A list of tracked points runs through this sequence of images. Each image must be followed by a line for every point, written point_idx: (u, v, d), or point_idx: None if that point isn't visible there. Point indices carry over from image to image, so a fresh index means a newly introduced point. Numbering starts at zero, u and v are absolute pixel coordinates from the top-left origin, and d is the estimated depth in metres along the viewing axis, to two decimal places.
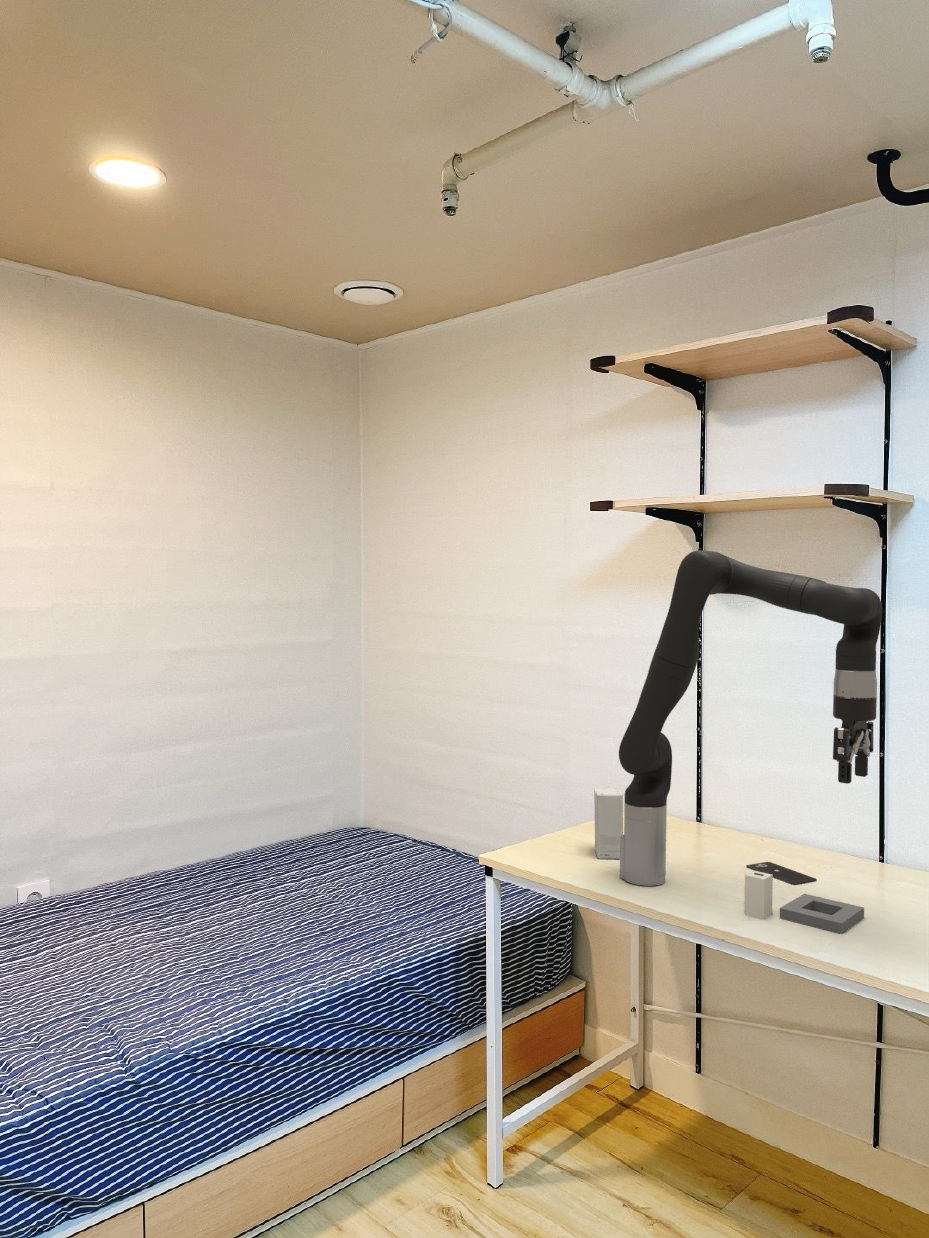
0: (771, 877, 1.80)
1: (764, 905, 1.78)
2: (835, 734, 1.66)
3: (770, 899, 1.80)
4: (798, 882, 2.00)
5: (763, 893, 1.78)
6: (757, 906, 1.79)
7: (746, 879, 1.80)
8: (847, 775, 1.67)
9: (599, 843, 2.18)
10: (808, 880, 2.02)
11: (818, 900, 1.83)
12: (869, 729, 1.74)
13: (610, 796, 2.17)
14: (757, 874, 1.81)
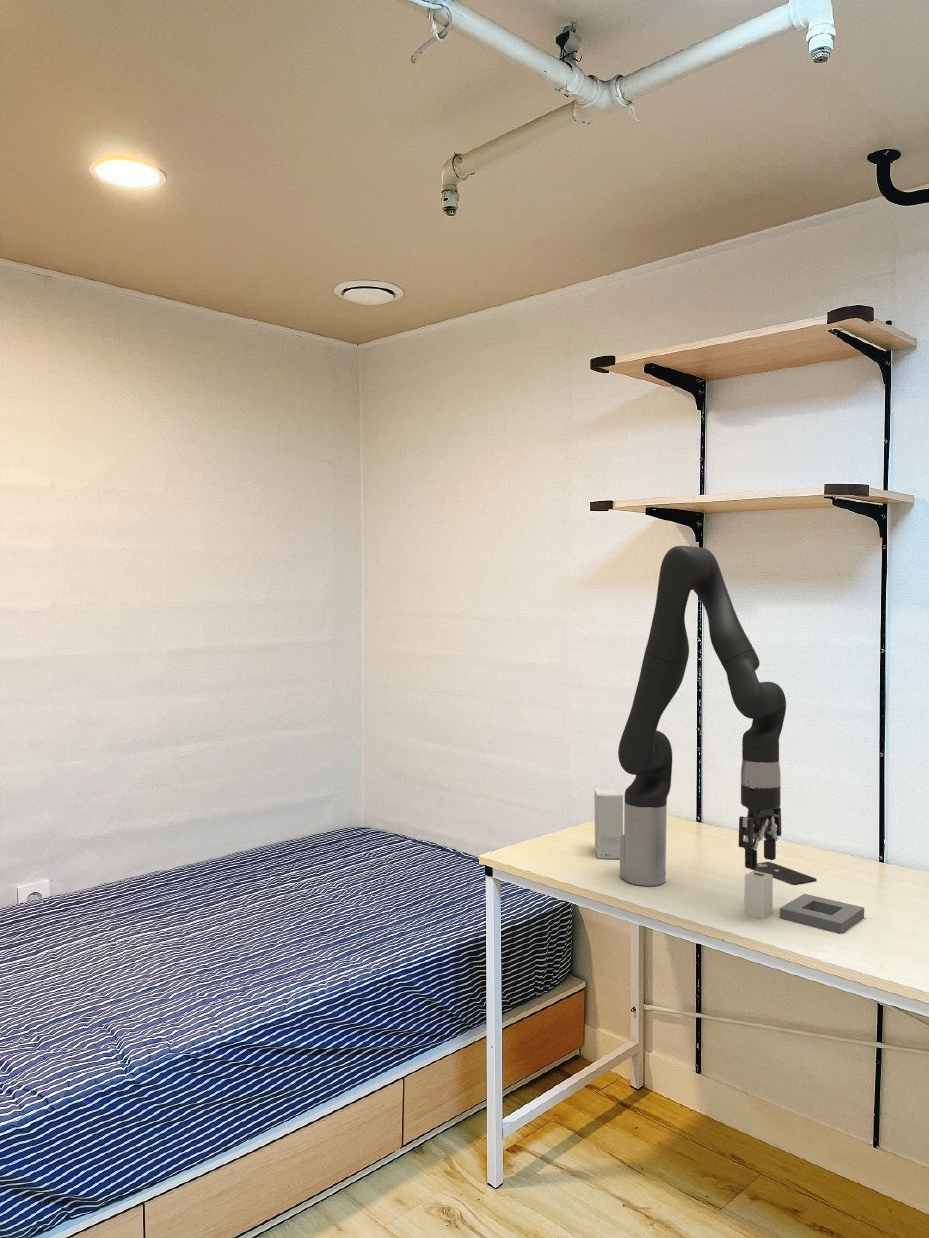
0: (771, 877, 1.80)
1: (764, 905, 1.78)
2: (740, 823, 1.76)
3: (770, 899, 1.80)
4: (798, 882, 2.00)
5: (763, 893, 1.78)
6: (757, 905, 1.79)
7: (746, 879, 1.80)
8: (753, 861, 1.76)
9: (599, 843, 2.18)
10: (808, 880, 2.02)
11: (818, 900, 1.83)
12: (776, 814, 1.84)
13: (610, 796, 2.17)
14: (757, 874, 1.81)
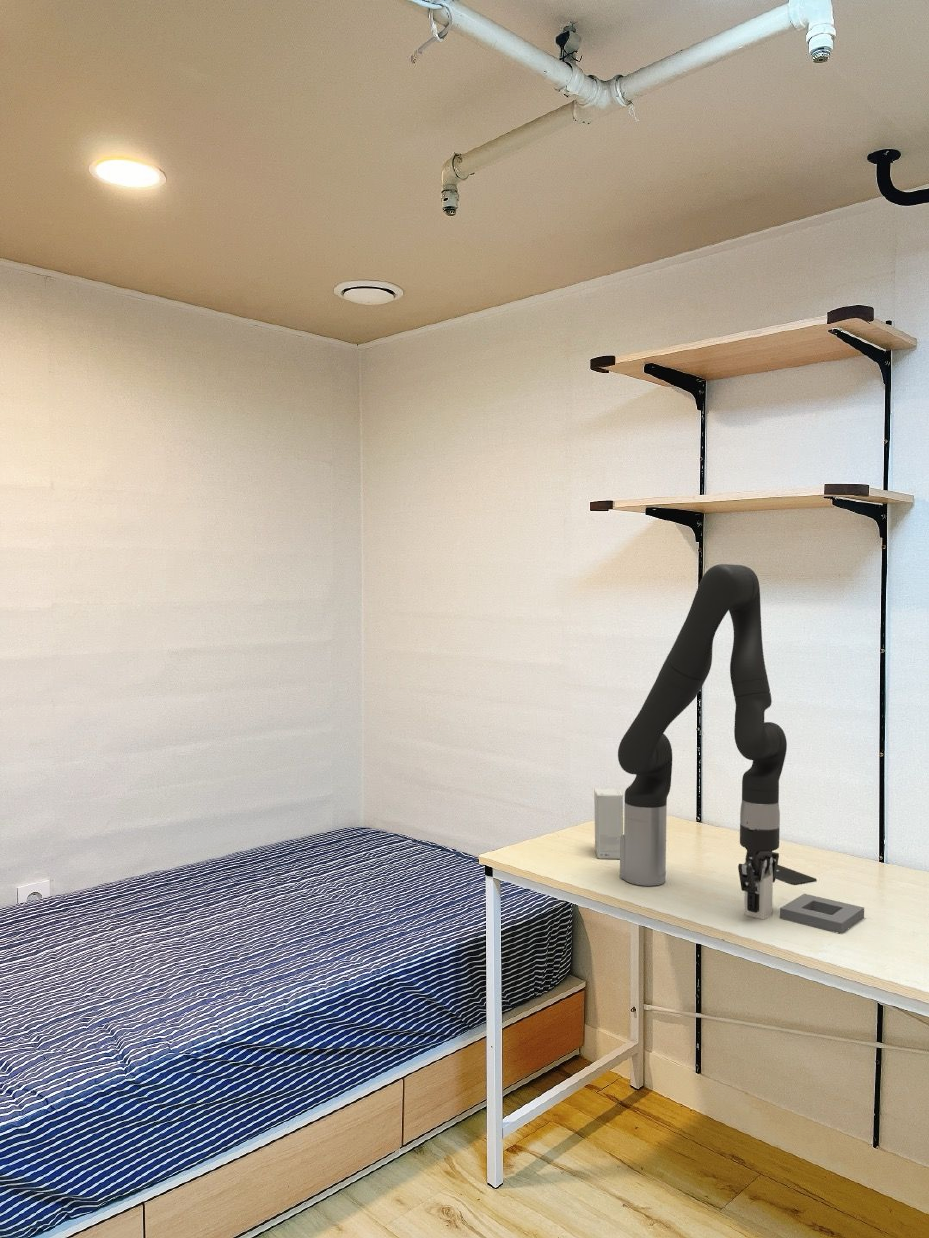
0: (771, 877, 1.80)
1: (764, 905, 1.78)
2: (740, 871, 1.77)
3: (770, 899, 1.80)
4: (798, 882, 2.00)
5: (763, 893, 1.78)
6: None
7: None
8: (755, 905, 1.78)
9: (599, 843, 2.18)
10: (808, 880, 2.02)
11: (818, 900, 1.83)
12: (774, 859, 1.84)
13: (610, 796, 2.17)
14: None
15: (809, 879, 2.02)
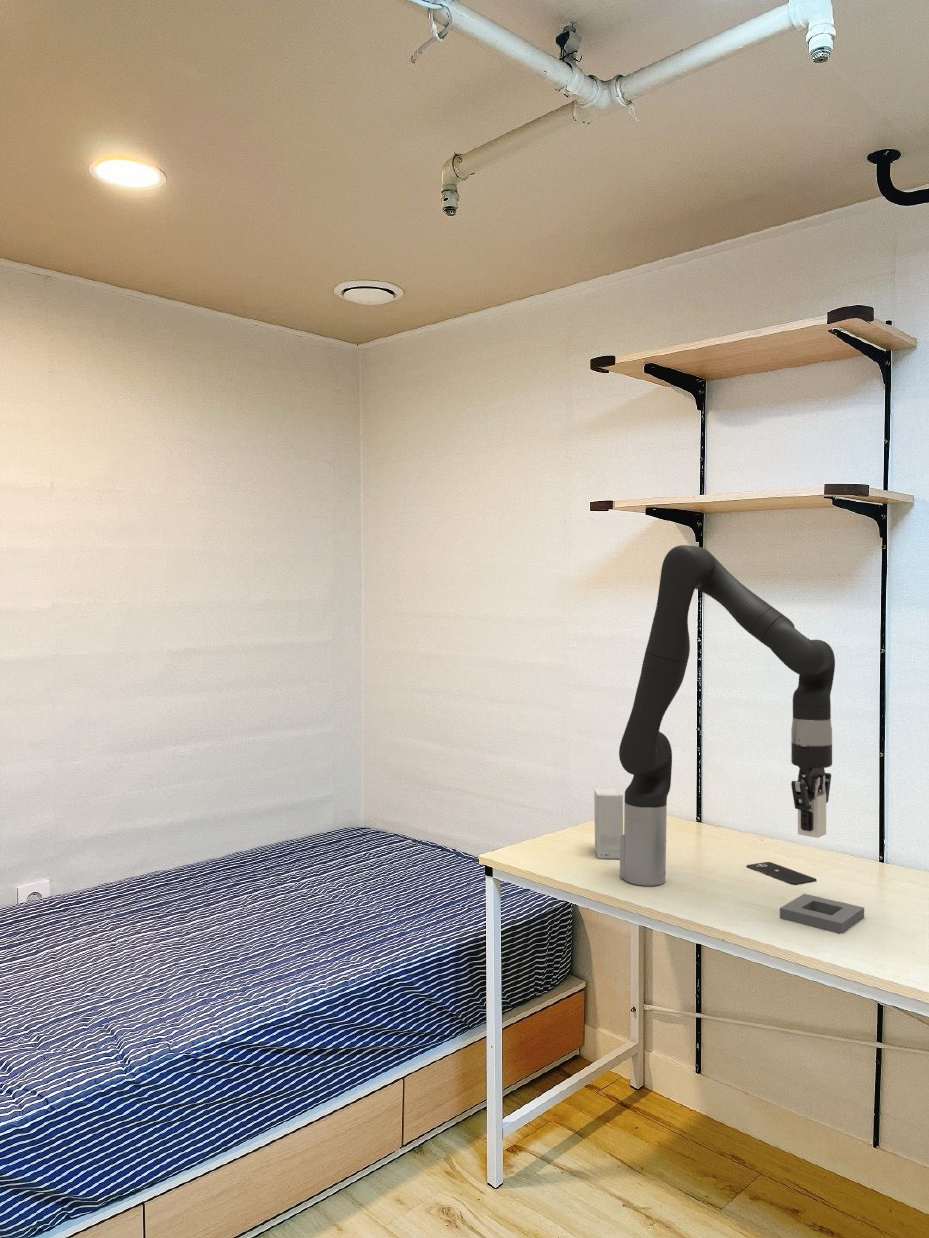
0: (824, 796, 1.78)
1: (819, 823, 1.76)
2: (793, 788, 1.74)
3: (824, 818, 1.78)
4: (798, 882, 2.00)
5: (817, 811, 1.76)
6: None
7: None
8: (809, 823, 1.76)
9: (599, 843, 2.18)
10: (808, 880, 2.02)
11: (818, 900, 1.83)
12: (826, 779, 1.81)
13: (610, 796, 2.17)
14: None
15: (809, 879, 2.02)
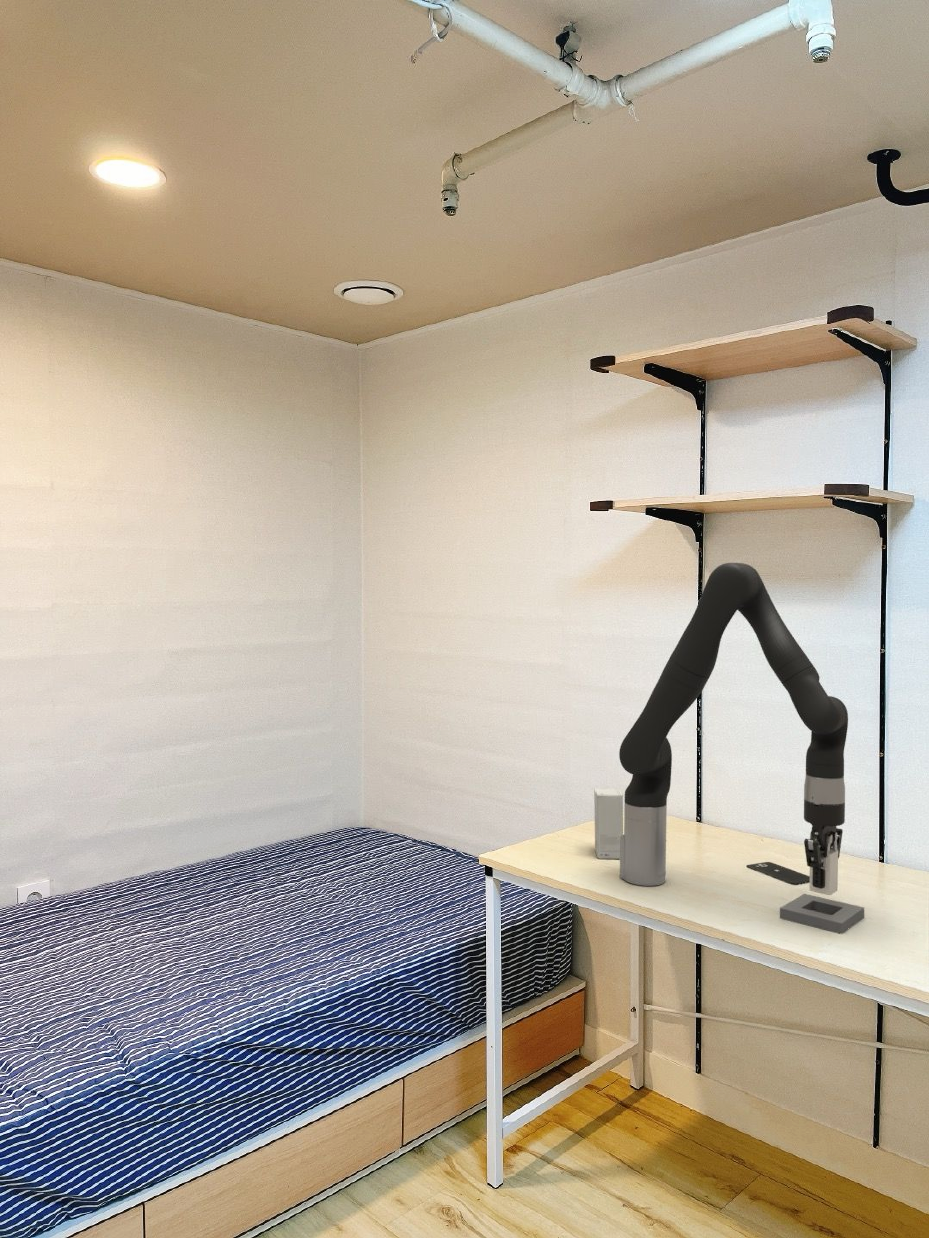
0: (836, 853, 1.78)
1: (831, 880, 1.76)
2: (806, 846, 1.75)
3: (836, 875, 1.78)
4: (798, 882, 2.00)
5: (829, 869, 1.76)
6: None
7: None
8: (821, 881, 1.77)
9: (599, 843, 2.18)
10: (808, 880, 2.02)
11: (818, 900, 1.83)
12: (838, 835, 1.82)
13: (610, 796, 2.17)
14: None
15: (809, 879, 2.02)
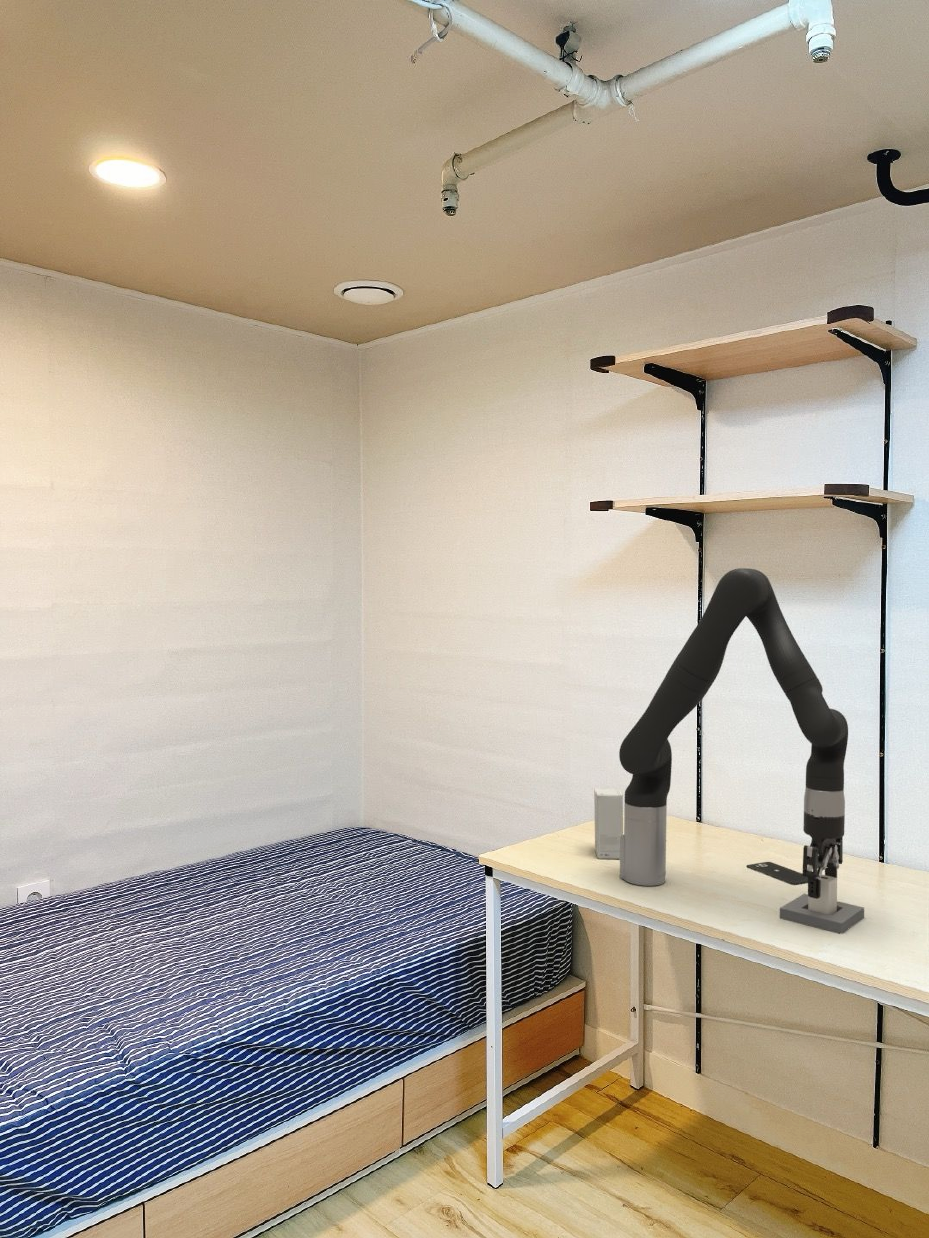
0: (836, 880, 1.79)
1: (829, 908, 1.77)
2: (804, 852, 1.74)
3: (835, 902, 1.79)
4: (798, 882, 2.00)
5: (828, 896, 1.76)
6: (822, 909, 1.77)
7: None
8: (817, 891, 1.75)
9: (599, 843, 2.18)
10: None
11: None
12: (838, 842, 1.82)
13: (610, 796, 2.17)
14: (821, 877, 1.79)
15: None
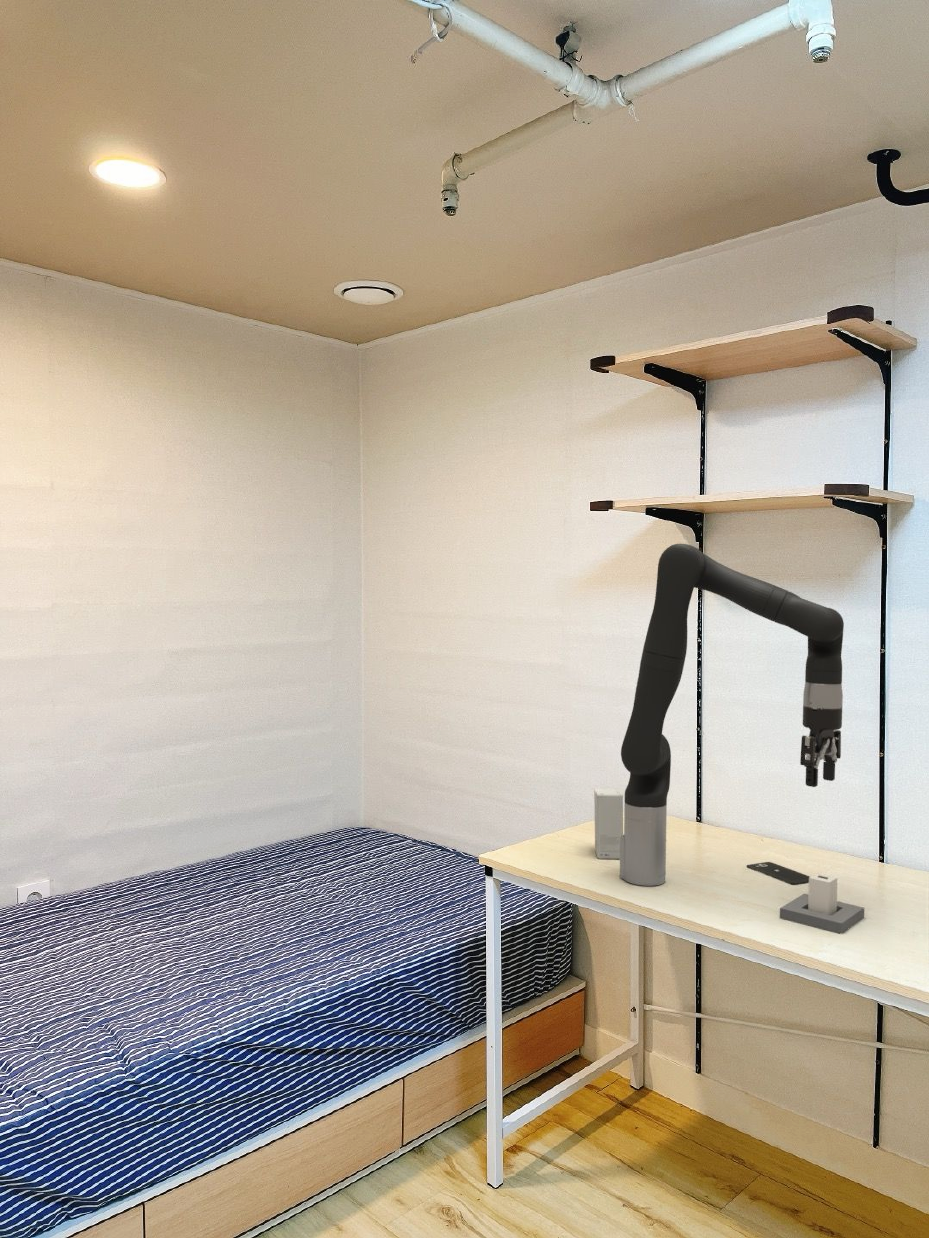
0: (836, 880, 1.79)
1: (829, 908, 1.77)
2: (802, 741, 1.82)
3: (835, 902, 1.79)
4: (798, 882, 2.00)
5: (828, 896, 1.76)
6: (822, 909, 1.77)
7: (810, 882, 1.79)
8: (814, 779, 1.83)
9: (599, 843, 2.18)
10: (808, 880, 2.02)
11: None
12: (836, 737, 1.89)
13: (610, 796, 2.17)
14: (821, 877, 1.79)
15: None
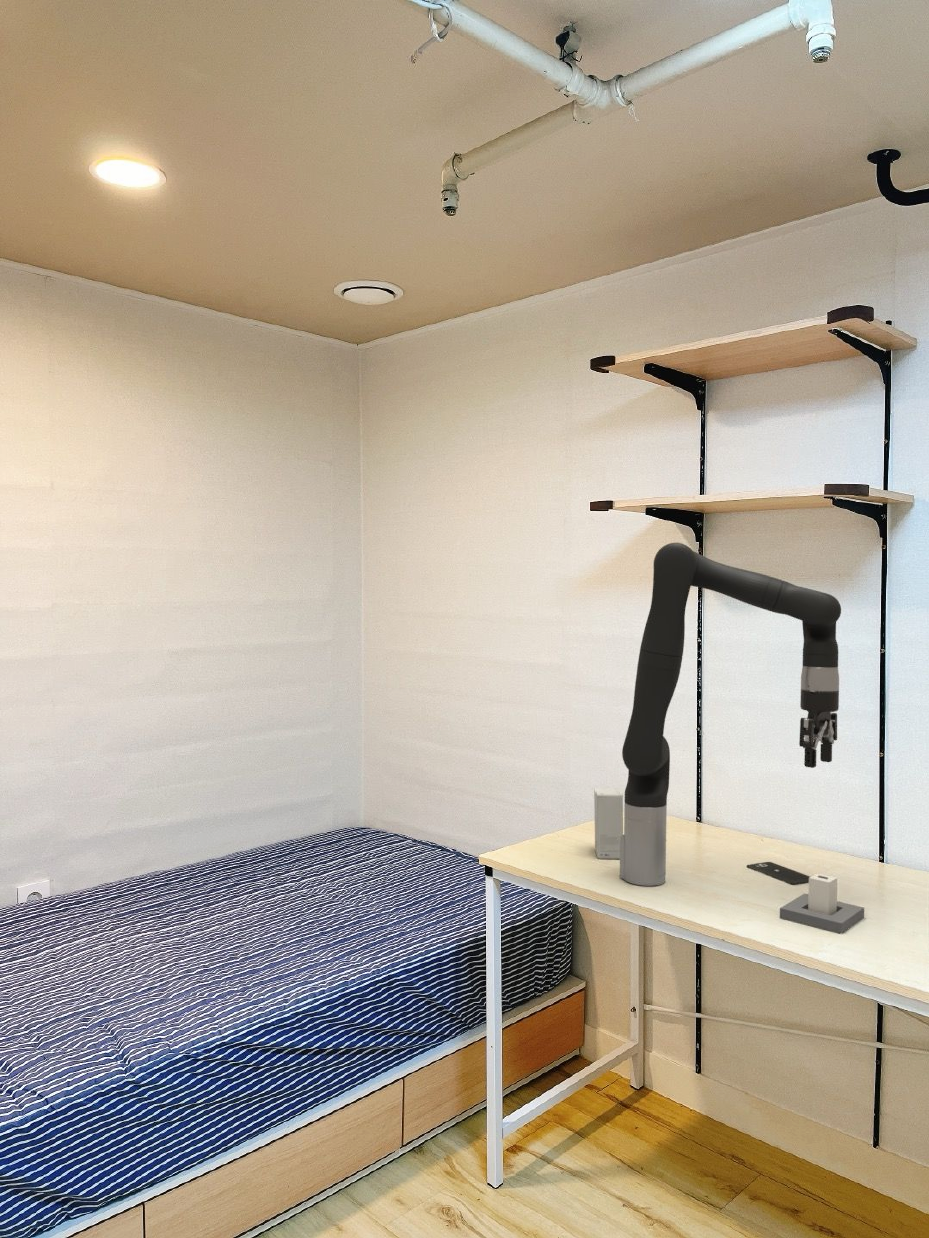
0: (836, 880, 1.79)
1: (829, 908, 1.77)
2: (801, 723, 1.87)
3: (834, 902, 1.79)
4: (797, 882, 2.00)
5: (828, 896, 1.76)
6: (822, 909, 1.77)
7: (810, 882, 1.79)
8: (813, 760, 1.87)
9: (599, 843, 2.18)
10: (808, 880, 2.02)
11: None
12: (833, 719, 1.94)
13: (610, 796, 2.17)
14: (821, 877, 1.79)
15: None
